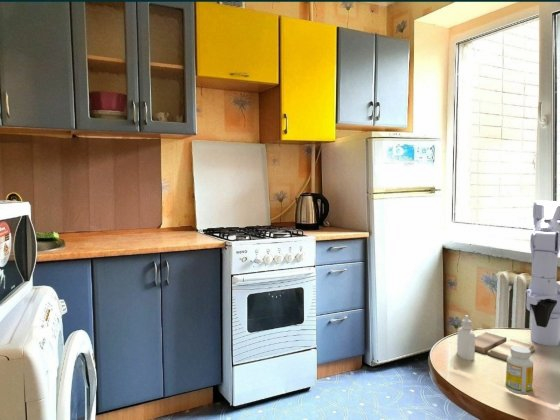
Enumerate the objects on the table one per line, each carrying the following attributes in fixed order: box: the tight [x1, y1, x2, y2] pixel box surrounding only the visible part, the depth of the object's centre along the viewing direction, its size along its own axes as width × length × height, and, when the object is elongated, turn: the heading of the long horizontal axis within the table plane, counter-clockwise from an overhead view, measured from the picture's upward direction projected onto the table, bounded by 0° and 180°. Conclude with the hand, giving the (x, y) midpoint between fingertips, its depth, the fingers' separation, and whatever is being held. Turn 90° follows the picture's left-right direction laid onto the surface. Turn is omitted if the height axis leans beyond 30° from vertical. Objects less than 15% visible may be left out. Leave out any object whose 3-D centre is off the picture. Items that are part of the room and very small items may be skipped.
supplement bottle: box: [505, 346, 534, 396], centre depth 97 cm, size 5×5×10 cm
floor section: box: [475, 331, 536, 362], centre depth 119 cm, size 14×14×2 cm
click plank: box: [487, 338, 535, 362], centre depth 117 cm, size 13×7×2 cm, turn 128°
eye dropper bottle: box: [456, 314, 476, 361], centre depth 114 cm, size 4×6×12 cm
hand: (541, 326), depth 113 cm, fingers closed
